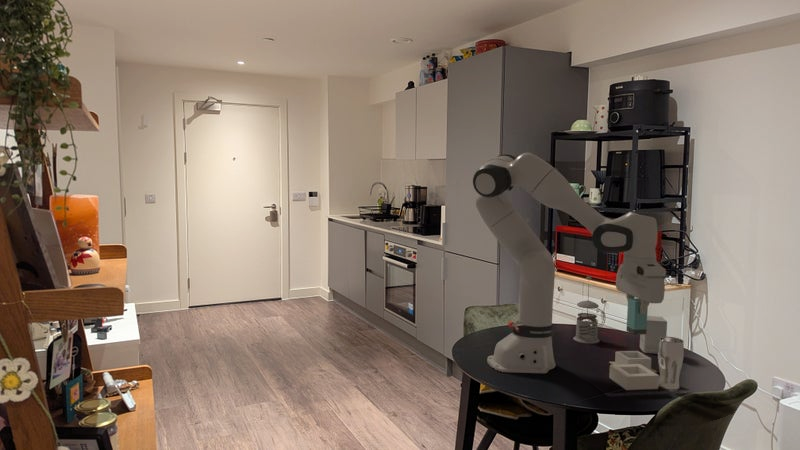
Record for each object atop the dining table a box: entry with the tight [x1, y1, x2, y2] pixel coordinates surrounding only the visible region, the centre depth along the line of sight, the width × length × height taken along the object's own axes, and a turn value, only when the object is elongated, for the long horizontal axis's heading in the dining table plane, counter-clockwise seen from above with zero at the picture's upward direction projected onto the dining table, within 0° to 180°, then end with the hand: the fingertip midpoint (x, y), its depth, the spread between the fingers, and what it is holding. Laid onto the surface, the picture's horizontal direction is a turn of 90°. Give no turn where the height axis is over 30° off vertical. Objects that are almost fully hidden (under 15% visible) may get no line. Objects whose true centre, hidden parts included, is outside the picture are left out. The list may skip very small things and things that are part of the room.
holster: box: [608, 350, 658, 373], centre depth 184 cm, size 11×11×5 cm
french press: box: [573, 276, 606, 344], centre depth 215 cm, size 10×12×25 cm
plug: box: [626, 297, 649, 336], centre depth 167 cm, size 4×4×10 cm
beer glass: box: [657, 336, 685, 393], centre depth 167 cm, size 7×7×15 cm
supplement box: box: [639, 315, 668, 355], centre depth 201 cm, size 7×7×13 cm
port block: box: [608, 364, 660, 394], centre depth 169 cm, size 10×10×5 cm
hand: (637, 311), depth 167 cm, fingers closed on plug, 4 cm apart
